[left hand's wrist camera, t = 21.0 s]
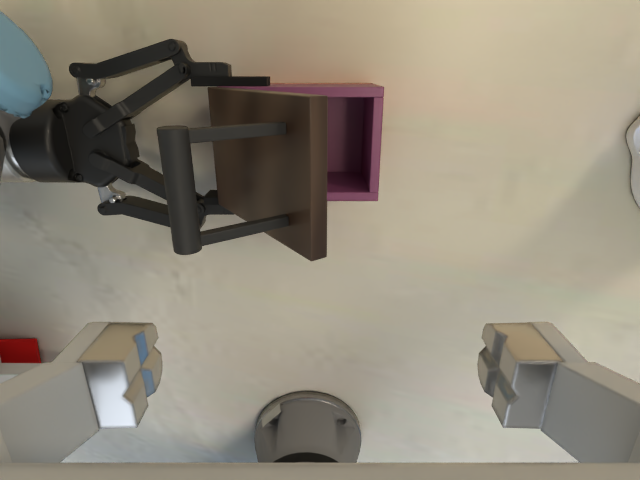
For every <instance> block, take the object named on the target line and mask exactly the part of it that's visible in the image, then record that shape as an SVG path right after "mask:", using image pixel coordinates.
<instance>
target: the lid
mask: <svg viewBox="0 0 640 480" xmlns="http://www.w3.org/2000/svg"><path fill="white" fill-rule="evenodd" d="M208 96H209V107H210V117H211V127H202V128H189V129H188V127H186V126H164V127H159V128H157V134H158V141H159V148H160V155H161V162H162V169H163V177H164V184H165V191H166V198H167V205H168V212H169V219H170V226H171V233H172V241H173V248H174V252H175V253H176V254H180V255H189V254H194V253H197V252H199V251H200V250H201V249H202V246H204V245H209V244H213V243H217V242H222V241H226V240H230V239H235V238H239V237H243V236H248V235H252V234H256V233H261V232H265V233H266V234H268V235H269V236H271V237H273V238H274V239H276V240H278V241H279V242H281V243H282V244H284V245H286V246H287V247H289V248H290V249H292V250H294V251H295V252H297V253H299V254H300V255H302V256H303V257H305V258H307V259H308V260H310V261H314V260H317V259H321V258H324V257H326V256H327V141H328V96H326V95H314V94H302V93H290V92H277V91H265V90H253V89H241V88H228V87H208ZM209 141H213V150H214V160H215V171H216V182H217V193H218V203H219V205H221V206H223V207H224V208H226V209H227V210H229V211H231V212H232V213H234V214H236V215H237V216H239V217H240V218H242V219H244V220H245V221H247V222H244V223H239V224H234V225H230V226H225V227H220V228H215V229H211V230H206V231H201V232H200V226H199V217H198V208H197V200H196V191H195V182H194V173H193V164H192V155H191V146H190V143H198V142H209Z"/></svg>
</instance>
